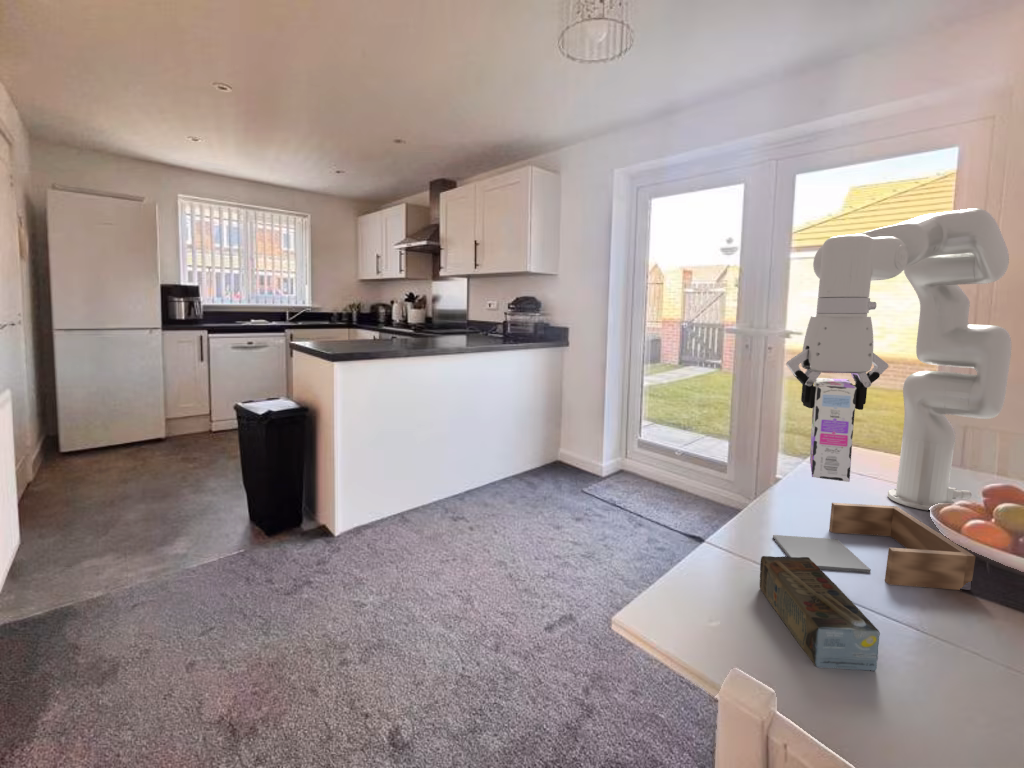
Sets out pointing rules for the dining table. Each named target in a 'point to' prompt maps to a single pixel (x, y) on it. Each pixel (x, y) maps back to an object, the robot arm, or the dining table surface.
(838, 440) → the candy box
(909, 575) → the bracket
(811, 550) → the mat
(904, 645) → the dining table surface
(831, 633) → the beverage carton
